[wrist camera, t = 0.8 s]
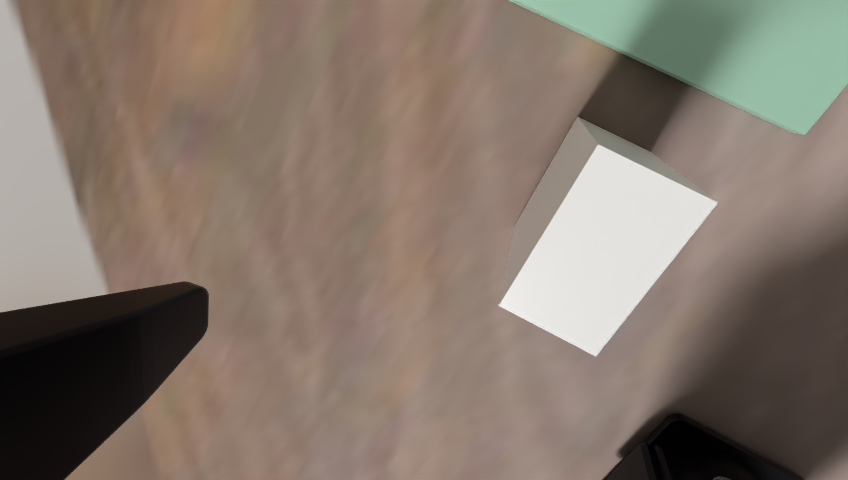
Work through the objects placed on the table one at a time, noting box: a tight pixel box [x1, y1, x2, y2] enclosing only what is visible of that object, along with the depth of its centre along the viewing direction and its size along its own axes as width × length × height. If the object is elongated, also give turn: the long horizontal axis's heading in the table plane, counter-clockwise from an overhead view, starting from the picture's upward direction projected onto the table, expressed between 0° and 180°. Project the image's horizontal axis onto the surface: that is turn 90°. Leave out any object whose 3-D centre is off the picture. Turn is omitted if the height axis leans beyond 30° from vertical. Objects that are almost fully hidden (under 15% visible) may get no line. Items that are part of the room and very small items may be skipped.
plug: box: [499, 117, 718, 356], centre depth 14 cm, size 3×6×7 cm, turn 156°
